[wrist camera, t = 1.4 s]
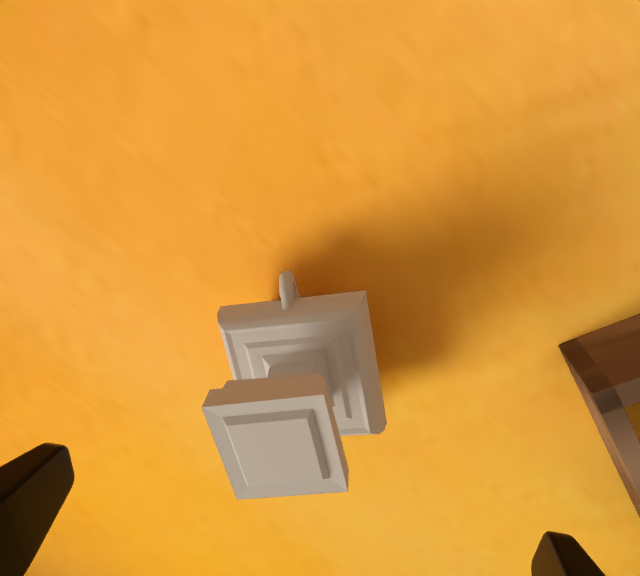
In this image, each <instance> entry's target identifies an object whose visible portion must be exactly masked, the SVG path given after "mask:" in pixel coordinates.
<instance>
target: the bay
mask: <svg viewBox="0 0 640 576" xmlns="http://www.w3.org/2000/svg"><path fill="white" fill-rule="evenodd" d="M558 346H559V348H560V350H561V352H562V354H563V356H564V358H565V361H566V363H567V365H568V367H569V369H570V371H571V373H572V375H573V377H574V380H575V382H576V384H577V386H578V388H579V390H580V392H581V394H582V396H583V399H584V401H585V403H586V405H587V407H588V409H589V411H590V413H591V415H592V418H593V420H594V422H595V424H596V426H597V428H598V430H599V432H600V435H601V437H602V439H603V441H604V443H605V445H606V447H607V449H608V451H609V454H610V456H611V458H612V460H613V462H614V464H615V466H616V468H617V470H618V473H619V475H620V477H621V479H622V481H623V483H624V485H625V487H626V489H627V492H628V494H629V496H630V498H631V500H632V502H633V504H634V506H635V508H636V511H637V513H638V515H639V517H640V442H639V440H638V438H637V436H636V433H635V431H634V429H633V427H632V425H631V422H630V420H629V418H628V416H627V414H626V411H625V409H624V407H626V406H629V405H632V404H636V403H639V402H640V314H639V315H637V316H634V317H631V318H629V319H626V320H623V321H621V322H618V323H616V324H613V325H610V326H608V327H605V328H602V329H600V330H597V331H594V332H592V333H589V334H587V335H584V336H581V337H579V338H576V339H573V340H571V341H568V342H565V343H563V344H560V345H558Z"/></svg>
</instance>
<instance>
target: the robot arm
mask: <svg viewBox="0 0 640 576" xmlns="http://www.w3.org/2000/svg"><path fill="white" fill-rule="evenodd" d="M73 482H74V470H73V466H72V462H71V458H70V454H69V450H68V448H67V447H66V446H64V445H60V444H54V443H44V444H41V445H39V446H37V447H35V448H33V449H32V450H30V451H28V452H26V453H24V454H23V455H21V456H19V457H17V458H15V459H13V460H12V461H10V462H8V463H6V464H4V465H2V466H1V467H0V576H24V574H25V572H26V571H27V569H28V568H29V566H30V564H31V562H32V561H33V559H34V557H35V555H36V554H37V552H38V550H39V548H40V546H41V544H42V542H43V541H44V539H45V537H46V535H47V533H48V531H49V529H50V527H51V525H52V524H53V522H54V520H55V518H56V516H57V514H58V512H59V510H60V509H61V507H62V505H63V503H64V501H65V499H66V497H67V495H68V494H69V492H70V490H71V488H72V485H73ZM531 572H532V576H605V574H604V573H603V572H602V571H601V570H600V568H599V567H598V566H597V565H596V564H595V562H594V561H593V560H592V559H591V558H590V556H589V555H588V554H587V553H586V552H585V550H584V549H583V548H582V547H581V546H580V545H579V543H578V542H577V541H576V540H575V539H574V538H573V537H572V536H570V535H567V534H563V533H557V532H552V531H547V532H546V533H544V535H543V536H542V539H541V541H540V543H539V546H538V548H537V550H536V552H535V555H534V557H533V560H532V566H531Z"/></svg>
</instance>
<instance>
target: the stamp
mask: <svg viewBox="0 0 640 576" xmlns="http://www.w3.org/2000/svg"><path fill="white" fill-rule="evenodd" d="M279 293H280V298H281V300H274V301H265V302H256V303H248V304H239V305H230V306H221V307H220V309H219V311H218V313H217V315H218V324H219V327H220V331H221V335H222V339H223V342H224V346H225V350H226V353H227V357H228V361H229V364H230V368H231V372H232V375H233V379H234V380H229V381H227V382H226V384H225V385H224V387H223V388H221V389H212V390H210V391H209V393H208V395H207V397H206V399H205V401H204V403H203V406H202V410H203V412H204V415H205V417H206V420H207V423H208V425H209V428H210V430H211V433H212V436H213V438H214V441H215V443H216V446H217V449H218V451H219V454H220V456H221V459H222V462H223V464H224V467H225V469H226V472H227V475H228V477H229V480H230V482H231V485H232V488H233V490H234V493H235V495H236V498H237V500H239V499H253V498H267V497H281V496H295V495H309V494H323V493H337V492H348V472H349V469H348V465H347V461H346V457H345V454H344V450H343V446H342V442H341V438H340V436H347V435H370V434H380V433H381V432H382V431H384V430H385V426H386V424H387V421H386V415H385V409H384V402H383V396H382V390H381V383H380V377H379V371H378V364H377V358H376V351H375V345H374V339H373V332H372V326H371V320H370V313H369V307H368V301H367V294H366V290H363V291H354V292H345V293H336V294H328V295H319V296H310V297H301V296H300V293H299V290H298V287H297V284H296V280H295V277H294V274H293V273H292V271H290V270H285V271H284V272H282V273H281V274H280V276H279Z"/></svg>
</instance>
